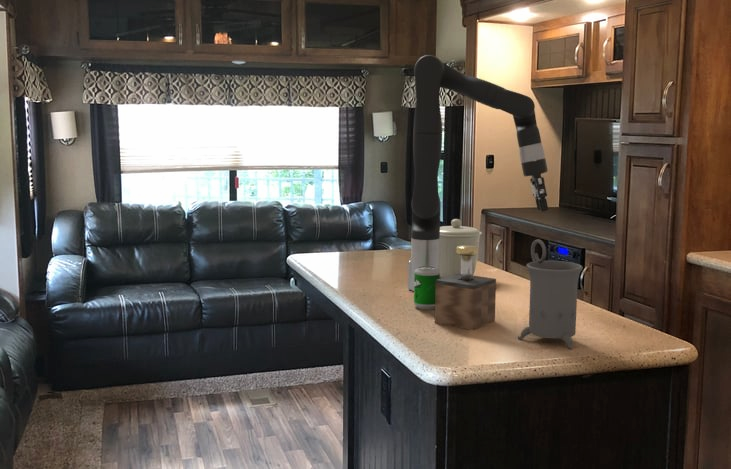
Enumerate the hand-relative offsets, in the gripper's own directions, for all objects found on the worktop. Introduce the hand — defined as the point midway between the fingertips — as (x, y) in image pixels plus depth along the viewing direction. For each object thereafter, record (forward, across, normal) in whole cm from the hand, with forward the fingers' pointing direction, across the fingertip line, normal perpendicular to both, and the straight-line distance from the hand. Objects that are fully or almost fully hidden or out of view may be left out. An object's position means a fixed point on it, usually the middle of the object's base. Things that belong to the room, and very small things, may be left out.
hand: (542, 210), depth 246 cm
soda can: (+21, +18, -41) cm, 49 cm away
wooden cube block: (+24, +34, -31) cm, 52 cm away
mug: (+30, +50, -10) cm, 59 cm away
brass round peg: (+15, +35, -29) cm, 47 cm away
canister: (+20, -29, -31) cm, 47 cm away
